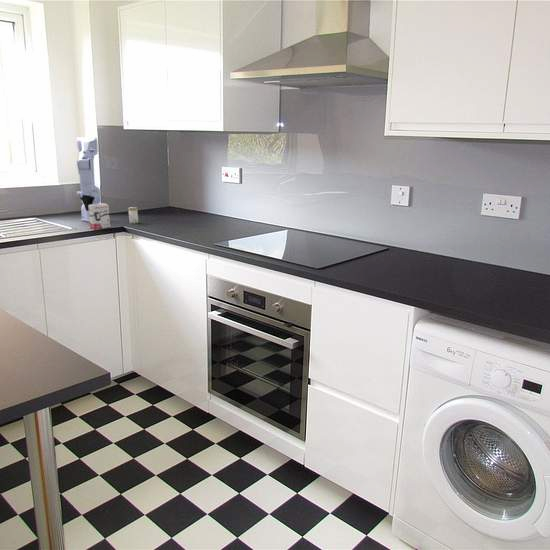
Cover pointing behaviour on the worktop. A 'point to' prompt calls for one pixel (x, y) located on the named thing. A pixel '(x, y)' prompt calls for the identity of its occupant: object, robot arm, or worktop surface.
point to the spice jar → (133, 215)
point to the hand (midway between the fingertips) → (88, 210)
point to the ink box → (99, 216)
